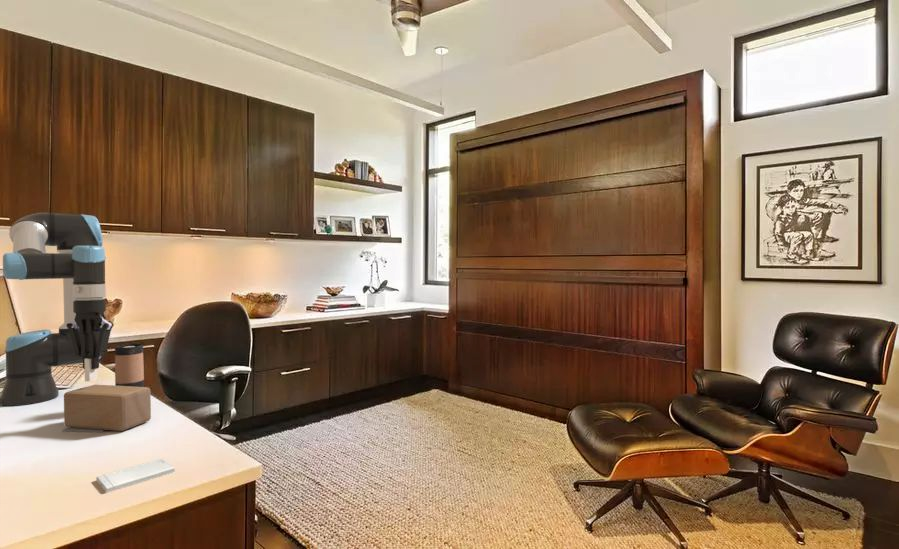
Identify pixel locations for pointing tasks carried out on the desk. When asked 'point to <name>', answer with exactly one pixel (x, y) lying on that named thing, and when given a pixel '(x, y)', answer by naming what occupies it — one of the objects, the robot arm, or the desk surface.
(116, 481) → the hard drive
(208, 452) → the desk surface
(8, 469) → the desk surface
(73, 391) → the block
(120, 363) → the travel mug
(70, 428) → the mat
